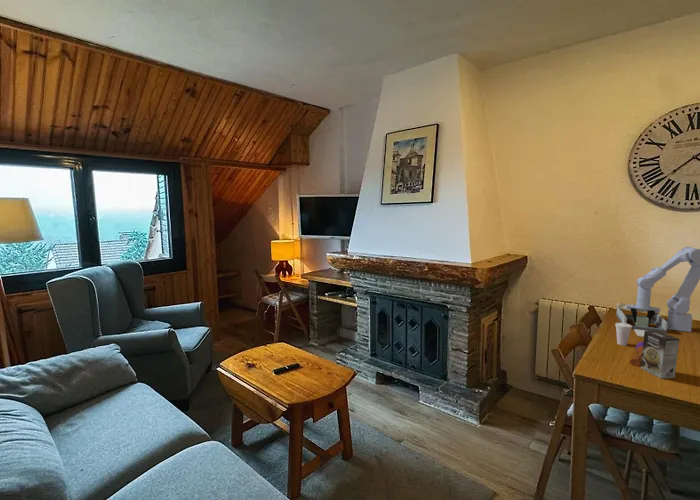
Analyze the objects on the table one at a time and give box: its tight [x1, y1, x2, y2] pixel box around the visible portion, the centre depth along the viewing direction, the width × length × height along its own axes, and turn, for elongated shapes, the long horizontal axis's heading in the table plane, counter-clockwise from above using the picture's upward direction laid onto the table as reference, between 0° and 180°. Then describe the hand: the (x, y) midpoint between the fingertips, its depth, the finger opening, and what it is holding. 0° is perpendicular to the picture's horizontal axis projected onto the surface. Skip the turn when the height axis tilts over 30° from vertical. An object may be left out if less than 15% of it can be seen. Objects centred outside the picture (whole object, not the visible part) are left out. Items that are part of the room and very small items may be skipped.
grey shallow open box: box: [615, 306, 668, 334], centre depth 201 cm, size 18×25×6 cm
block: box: [633, 314, 649, 327], centre depth 198 cm, size 5×5×5 cm
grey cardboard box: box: [640, 331, 680, 379], centre depth 142 cm, size 9×6×16 cm
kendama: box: [629, 341, 643, 367], centre depth 156 cm, size 6×6×20 cm
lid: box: [615, 302, 660, 315], centre depth 209 cm, size 18×13×3 cm
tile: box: [633, 329, 645, 338], centre depth 184 cm, size 10×10×1 cm
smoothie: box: [614, 316, 633, 347], centre depth 172 cm, size 6×6×14 cm
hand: (641, 322), depth 198 cm, fingers closed on block, 5 cm apart
